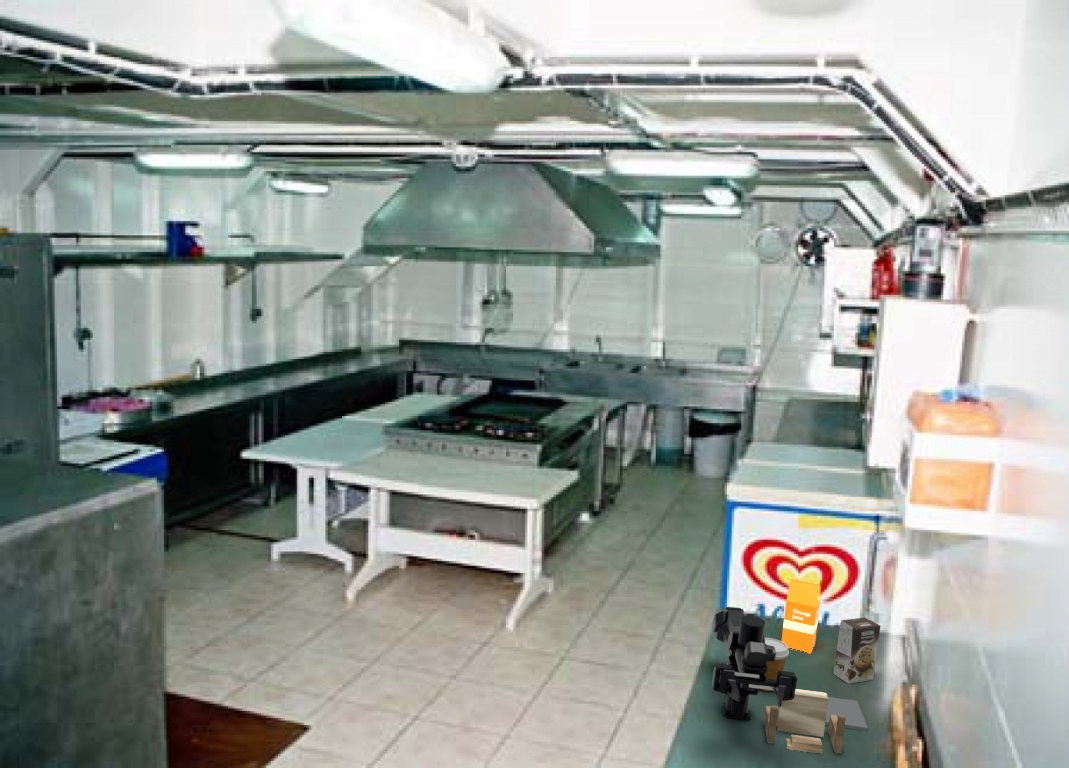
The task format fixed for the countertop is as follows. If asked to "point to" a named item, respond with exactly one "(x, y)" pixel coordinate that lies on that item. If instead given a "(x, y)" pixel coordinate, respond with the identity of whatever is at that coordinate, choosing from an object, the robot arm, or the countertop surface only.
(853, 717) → the rubber mat
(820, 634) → the countertop surface
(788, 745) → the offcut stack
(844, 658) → the cookie box
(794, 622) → the orange juice
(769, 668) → the disposable coffee cup
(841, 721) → the light wood rack
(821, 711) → the cream flat block
